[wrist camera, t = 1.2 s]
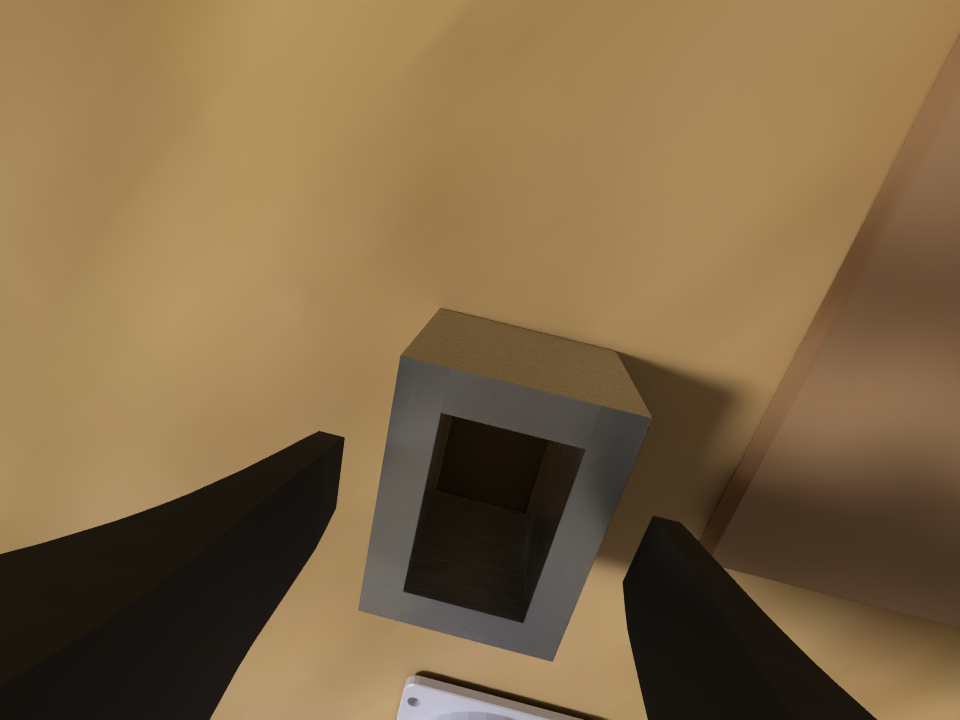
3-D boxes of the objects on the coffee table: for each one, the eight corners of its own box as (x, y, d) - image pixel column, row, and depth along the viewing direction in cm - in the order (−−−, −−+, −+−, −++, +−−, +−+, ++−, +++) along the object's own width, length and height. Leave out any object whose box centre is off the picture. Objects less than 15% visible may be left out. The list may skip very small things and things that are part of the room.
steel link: (547, 544, 15) (552, 661, 11) (401, 506, 15) (358, 610, 11) (615, 351, 12) (652, 417, 8) (440, 307, 12) (400, 355, 9)
